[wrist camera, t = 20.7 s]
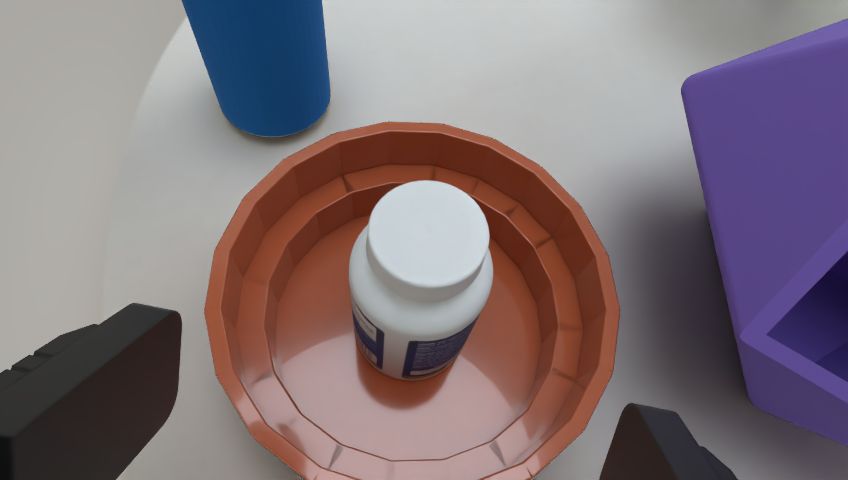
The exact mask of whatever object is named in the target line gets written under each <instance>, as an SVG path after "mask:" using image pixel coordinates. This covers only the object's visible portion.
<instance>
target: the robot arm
mask: <svg viewBox="0 0 848 480" xmlns="http://www.w3.org/2000/svg"><path fill="white" fill-rule="evenodd" d="M181 333H182V320H181V316H180V314H179V313H178V312H177V311H173V310H168V309H163V308H158V307H153V306H148V305H143V304H138V303H132V304H130V305H128V306H126V307H125V308H123V309H122V310H120V311H119V312H117V313H116V314H114V315H113V316H111V317H110V318H108V319H107V320H105V321H104V322H102V323H101V324H99V325H97V324H93V325H90V326H87V327H84V328H81V329H78V330H75V331H72V332H69V333H66V334H63V335H60V336H58V337H57V338H55V339H54V340H52V341H51V342H49V343H48V344H46V345H44V346H43V347H41V348H39V349H38V350H36V351H35V352H34V355H33V356H32V355H28V356H27V357H25V358H23V359H22V360H20V361H19V362H17V363H16V364H14V365H12V368H11V370H7V369H6V370H4V371H3V372H1V373H0V480H116V479H117V478H118V477H119V475H120V474H121V473H122V472H123V471H124V470H125V469H126V467H127V466H128V465H129V464H130V463H131V462H132V461H133V459H134V458H135V457H136V456H137V455H138V454H139V452H140V451H141V450H142V449H143V448H144V447H145V446H146V444H147V443H148V442H149V441H150V440H151V439H152V437H153V436H154V435H155V434H156V433H157V432H158V431H159V429H160V428H161V427H162V426H163V425H164V423H165V422H166V420H167V419H168V417H169V415H170V413H171V411H172V409H173V406H174V404H175V401H176V397H177V392H178V382H179V366H180V349H181ZM599 480H738V479H737V478H736V477H735V475H734V474H733V472H732V471H731V470H730V469H729V468H728V467H727V466H725V465H724V464H723V463H722V462H721V461H720V460H719V459H717V458H716V457H715V456H714V455H713V454H712V453H711V452H709V451H708V450H707V449H706V448H705V447H702V446H699V445H698V444H697V442H696V441H695V439H694V438H693V436H692V435H691V433H690V432H689V430H688V429H687V427H686V426H685V424H684V423H683V421H682V420H681V418H680V417H679V415H678V414H677V413H675V412H673V411H669V410H664V409H659V408H654V407H649V406H644V405H639V404H634V403H630V404H628V405H627V406H626V407H625V408H624V409H623V411H622V414H621V416H620V419H619V422H618V425H617V428H616V431H615V434H614V437H613V439H612V442H611V445H610V448H609V451H608V454H607V457H606V460H605V463H604V466H603V469H602V472H601V475H600V479H599Z"/></svg>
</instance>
